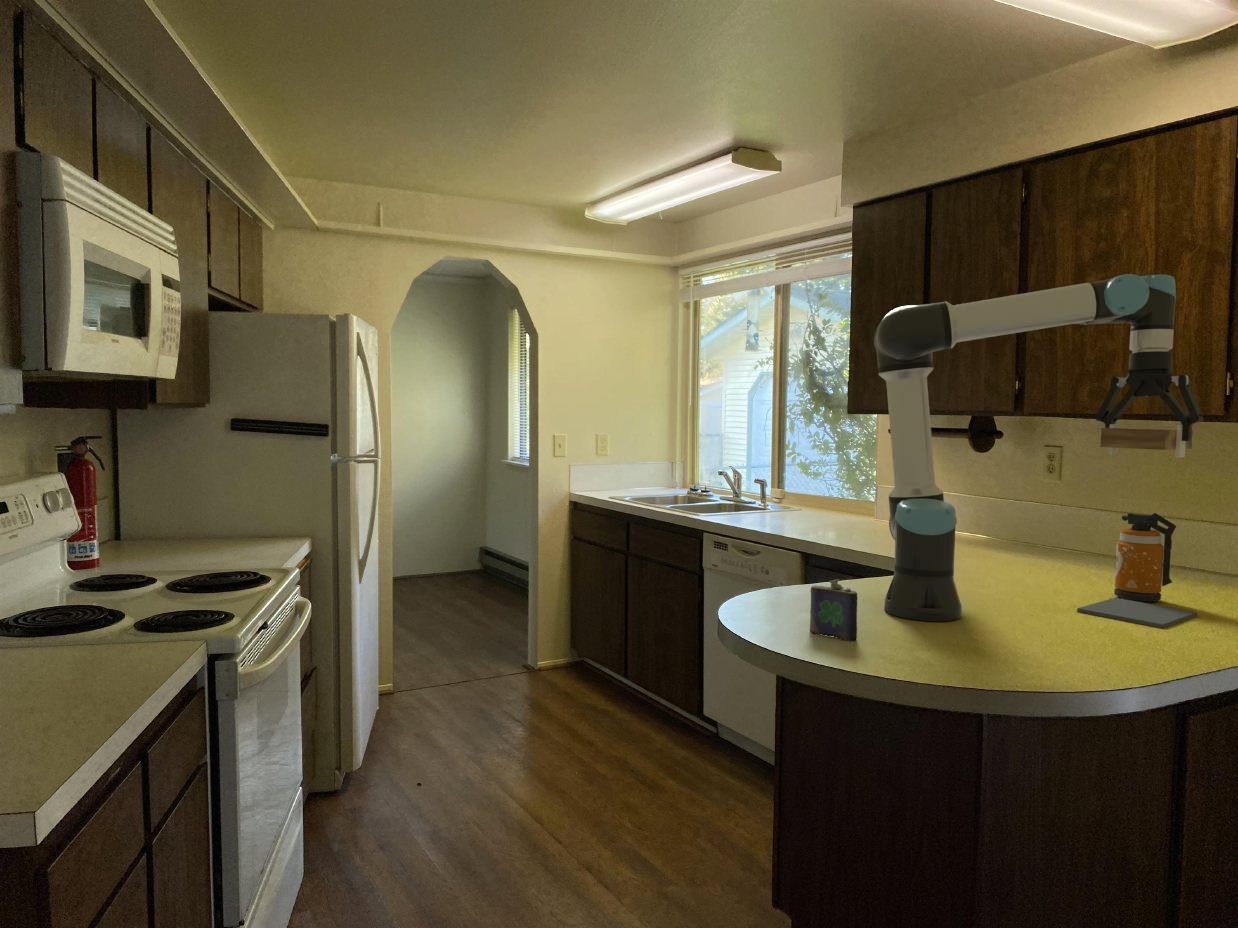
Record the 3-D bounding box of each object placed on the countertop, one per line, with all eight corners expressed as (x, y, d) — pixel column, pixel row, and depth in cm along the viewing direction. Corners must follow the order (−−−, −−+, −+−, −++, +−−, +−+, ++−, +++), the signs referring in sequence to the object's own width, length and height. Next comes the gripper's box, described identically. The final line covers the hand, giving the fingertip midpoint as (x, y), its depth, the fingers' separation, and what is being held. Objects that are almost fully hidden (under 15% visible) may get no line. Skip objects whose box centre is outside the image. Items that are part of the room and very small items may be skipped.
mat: (1162, 628, 158) (1162, 624, 158) (1077, 611, 171) (1077, 608, 171) (1197, 615, 169) (1197, 611, 169) (1114, 601, 182) (1114, 597, 182)
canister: (1113, 593, 190) (1117, 509, 189) (1170, 599, 185) (1174, 512, 183) (1114, 600, 183) (1118, 512, 181) (1173, 606, 177) (1178, 516, 176)
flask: (807, 632, 152) (808, 576, 152) (814, 630, 154) (816, 574, 154) (852, 642, 146) (854, 584, 145) (860, 639, 148) (862, 581, 147)
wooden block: (1164, 449, 159) (1165, 429, 159) (1100, 447, 169) (1101, 428, 168) (1191, 448, 168) (1192, 429, 167) (1129, 446, 177) (1130, 427, 177)
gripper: (1226, 349, 159) (1220, 458, 161) (1096, 355, 179) (1092, 453, 180) (1212, 347, 155) (1206, 459, 156) (1081, 354, 174) (1076, 453, 176)
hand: (1145, 456), depth 168 cm, fingers closed on wooden block, 12 cm apart
